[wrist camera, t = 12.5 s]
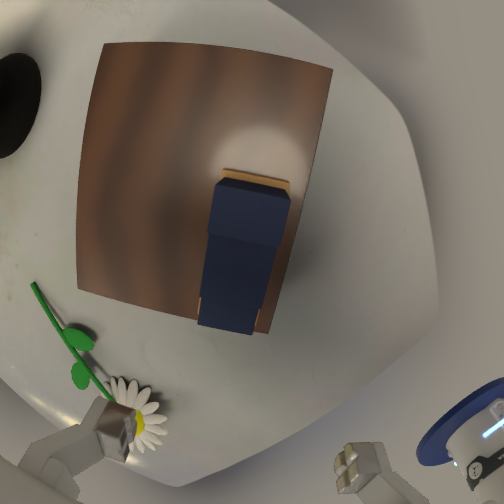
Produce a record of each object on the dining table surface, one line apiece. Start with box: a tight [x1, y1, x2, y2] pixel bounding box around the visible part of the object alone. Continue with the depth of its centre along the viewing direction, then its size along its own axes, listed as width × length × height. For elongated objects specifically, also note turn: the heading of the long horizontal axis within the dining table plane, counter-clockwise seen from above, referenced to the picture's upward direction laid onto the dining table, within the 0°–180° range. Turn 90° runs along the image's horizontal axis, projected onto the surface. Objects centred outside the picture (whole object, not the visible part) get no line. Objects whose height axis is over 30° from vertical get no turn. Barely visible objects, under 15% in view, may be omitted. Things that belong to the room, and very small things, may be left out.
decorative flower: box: [30, 282, 169, 454], centre depth 35 cm, size 13×5×30 cm
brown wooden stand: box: [76, 42, 333, 334], centre depth 25 cm, size 19×23×6 cm
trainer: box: [198, 168, 291, 335], centre depth 21 cm, size 12×5×6 cm, turn 168°
